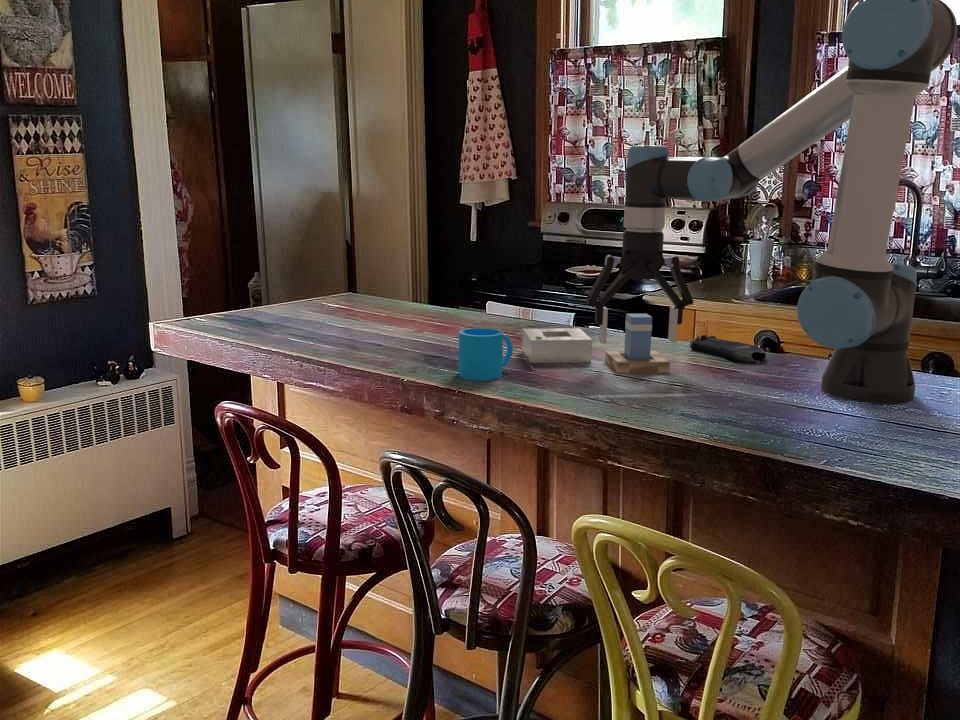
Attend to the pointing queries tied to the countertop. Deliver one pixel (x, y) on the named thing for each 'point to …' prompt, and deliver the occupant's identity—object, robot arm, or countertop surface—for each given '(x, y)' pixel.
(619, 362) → the tan flat square frame
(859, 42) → the robot arm
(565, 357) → the port block
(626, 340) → the plug
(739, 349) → the electronic device
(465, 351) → the mug
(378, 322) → the countertop surface
